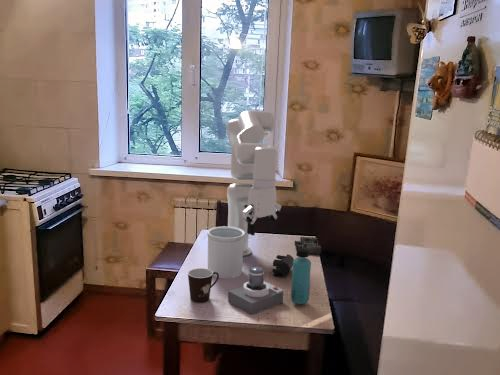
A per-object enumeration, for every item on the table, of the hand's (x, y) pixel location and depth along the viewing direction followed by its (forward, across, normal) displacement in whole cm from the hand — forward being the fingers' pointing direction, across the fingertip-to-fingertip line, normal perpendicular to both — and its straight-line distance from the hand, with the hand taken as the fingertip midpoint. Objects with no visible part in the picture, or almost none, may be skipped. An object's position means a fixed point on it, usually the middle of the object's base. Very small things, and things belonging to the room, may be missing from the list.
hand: (261, 231), depth 156 cm
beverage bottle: (+25, -8, +12) cm, 29 cm away
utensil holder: (+25, -5, -24) cm, 36 cm away
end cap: (+25, -24, -10) cm, 36 cm away
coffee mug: (+25, +16, -10) cm, 31 cm away
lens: (+20, +3, +2) cm, 21 cm away
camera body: (+25, +3, +2) cm, 25 cm away
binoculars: (+26, -55, -25) cm, 66 cm away
